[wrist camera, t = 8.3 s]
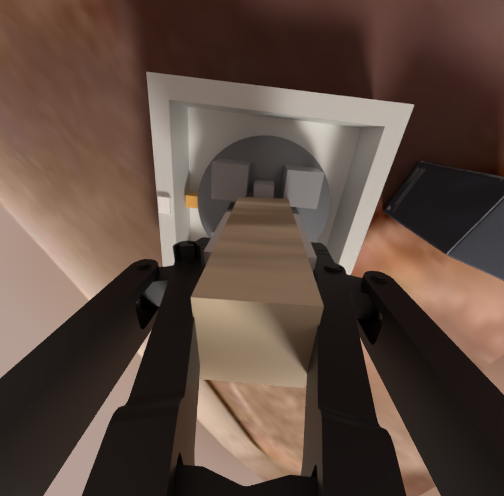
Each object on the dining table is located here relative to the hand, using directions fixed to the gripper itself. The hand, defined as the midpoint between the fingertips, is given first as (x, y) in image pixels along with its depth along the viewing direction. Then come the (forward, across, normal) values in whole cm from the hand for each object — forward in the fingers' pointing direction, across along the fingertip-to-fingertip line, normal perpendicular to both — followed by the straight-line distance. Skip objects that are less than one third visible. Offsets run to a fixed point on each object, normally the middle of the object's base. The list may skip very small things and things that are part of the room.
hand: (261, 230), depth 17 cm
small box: (+10, +20, 0) cm, 22 cm away
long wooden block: (+4, 0, 0) cm, 4 cm away
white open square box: (+10, 0, 0) cm, 10 cm away
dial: (+7, -1, 0) cm, 7 cm away
